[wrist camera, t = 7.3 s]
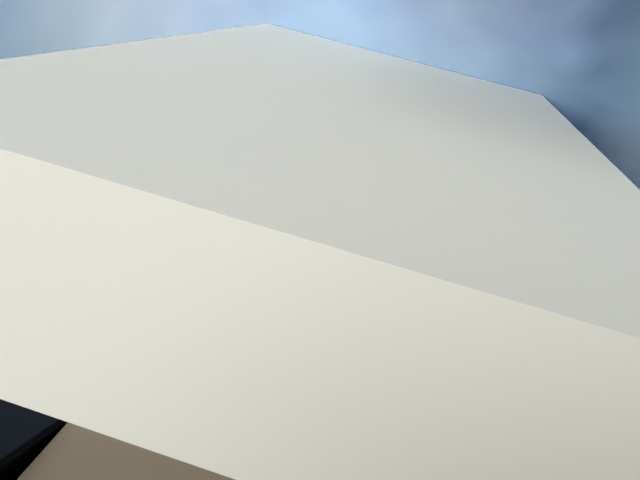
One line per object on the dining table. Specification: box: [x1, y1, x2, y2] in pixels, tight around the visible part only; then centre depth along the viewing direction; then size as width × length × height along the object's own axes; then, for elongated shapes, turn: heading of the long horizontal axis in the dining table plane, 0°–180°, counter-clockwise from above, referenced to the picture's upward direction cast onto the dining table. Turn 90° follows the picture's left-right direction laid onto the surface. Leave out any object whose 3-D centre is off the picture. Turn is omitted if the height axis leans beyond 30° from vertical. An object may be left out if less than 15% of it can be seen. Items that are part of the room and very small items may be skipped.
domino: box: [0, 23, 640, 480], centre depth 6 cm, size 2×5×8 cm, turn 77°
